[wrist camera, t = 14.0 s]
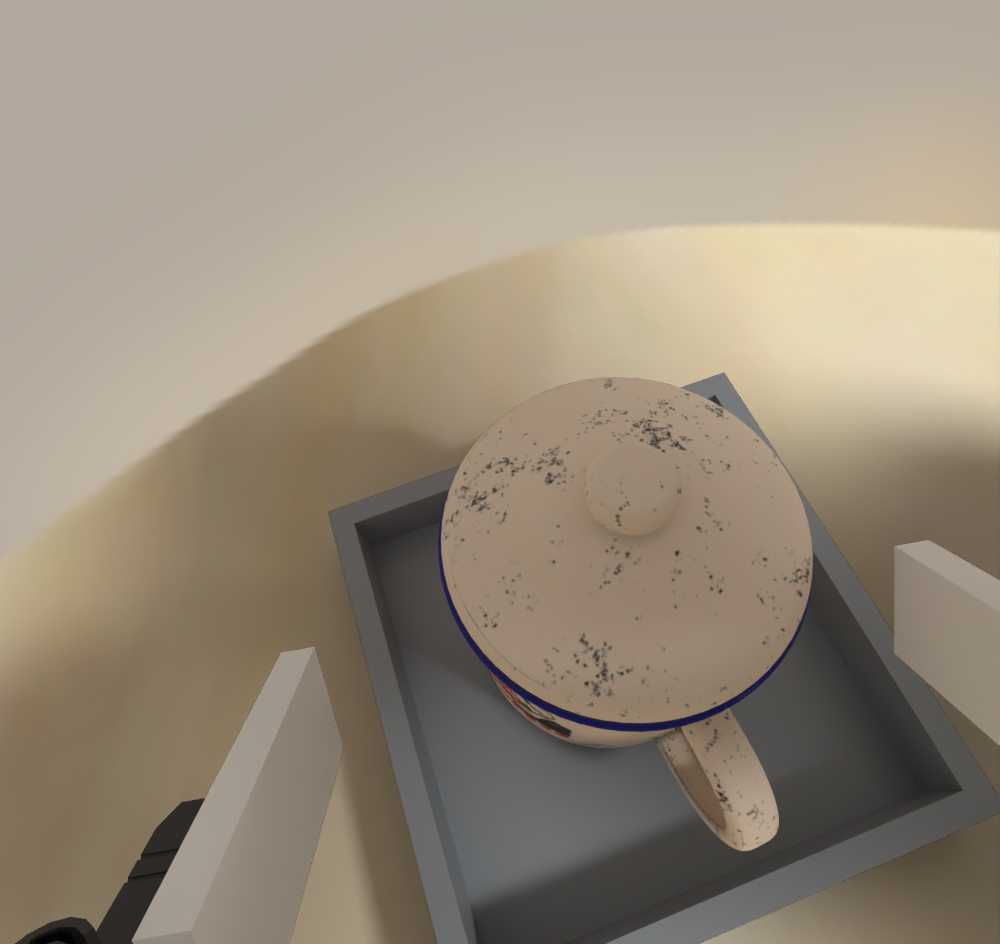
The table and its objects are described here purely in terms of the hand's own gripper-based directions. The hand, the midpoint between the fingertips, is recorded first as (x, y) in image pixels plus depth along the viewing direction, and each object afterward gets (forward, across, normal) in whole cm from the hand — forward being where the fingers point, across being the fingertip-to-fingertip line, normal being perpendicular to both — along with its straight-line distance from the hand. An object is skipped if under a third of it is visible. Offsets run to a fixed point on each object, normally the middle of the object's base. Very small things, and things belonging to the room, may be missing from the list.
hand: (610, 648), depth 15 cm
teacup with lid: (+7, +1, -5) cm, 9 cm away
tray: (+8, +1, -5) cm, 9 cm away
